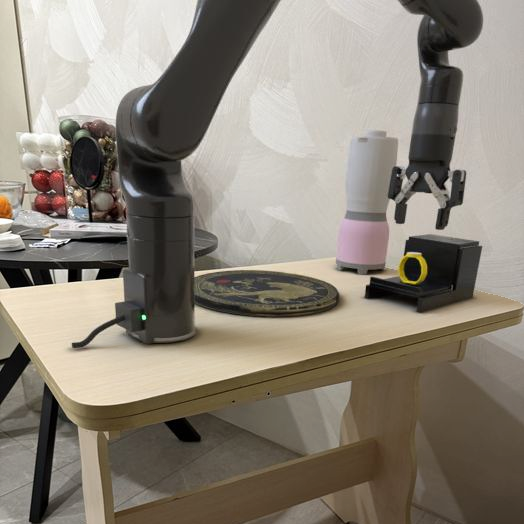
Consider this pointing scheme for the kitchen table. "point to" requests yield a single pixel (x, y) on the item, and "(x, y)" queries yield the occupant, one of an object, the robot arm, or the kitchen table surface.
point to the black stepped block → (434, 272)
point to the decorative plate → (264, 293)
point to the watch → (423, 265)
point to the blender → (367, 202)
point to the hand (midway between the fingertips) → (419, 226)
